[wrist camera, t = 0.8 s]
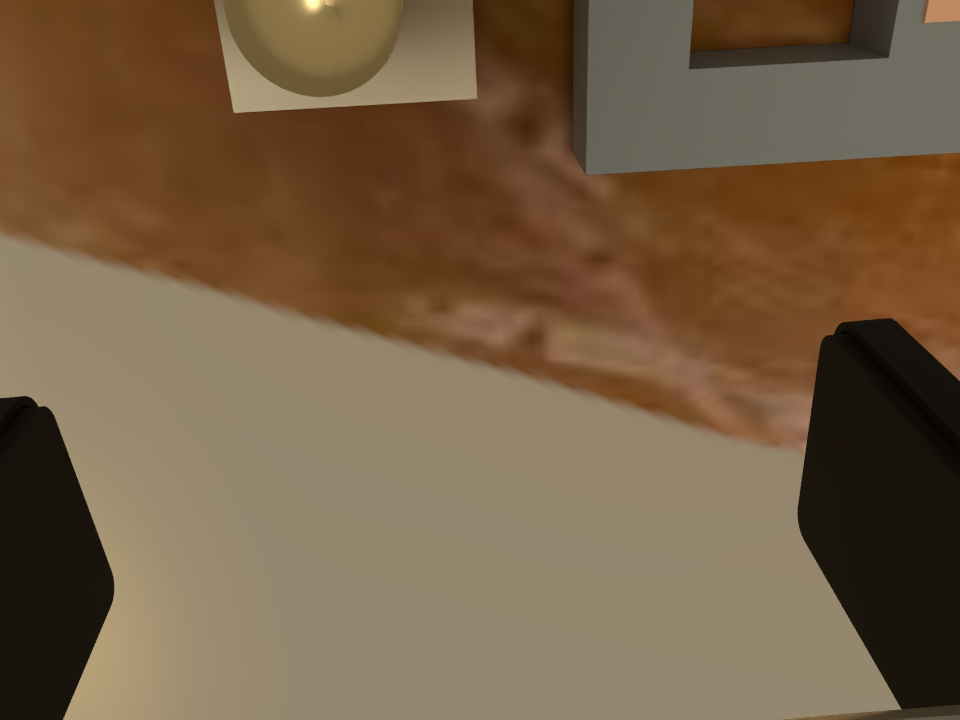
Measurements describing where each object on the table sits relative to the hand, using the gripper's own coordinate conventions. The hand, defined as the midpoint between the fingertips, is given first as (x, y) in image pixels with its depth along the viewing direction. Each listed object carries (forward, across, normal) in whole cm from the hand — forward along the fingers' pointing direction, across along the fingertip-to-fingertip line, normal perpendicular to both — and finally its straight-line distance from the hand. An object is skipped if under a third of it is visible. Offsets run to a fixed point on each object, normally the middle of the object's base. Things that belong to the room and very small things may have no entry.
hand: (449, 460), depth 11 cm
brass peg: (+20, +2, -4) cm, 21 cm away
